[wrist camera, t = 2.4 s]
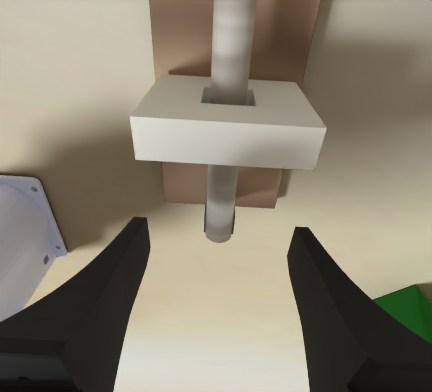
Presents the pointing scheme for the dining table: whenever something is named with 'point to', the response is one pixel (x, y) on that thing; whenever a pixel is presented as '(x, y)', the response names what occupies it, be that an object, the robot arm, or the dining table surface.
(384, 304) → the milk carton
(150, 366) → the dining table surface
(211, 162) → the collar
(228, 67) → the slider rail
